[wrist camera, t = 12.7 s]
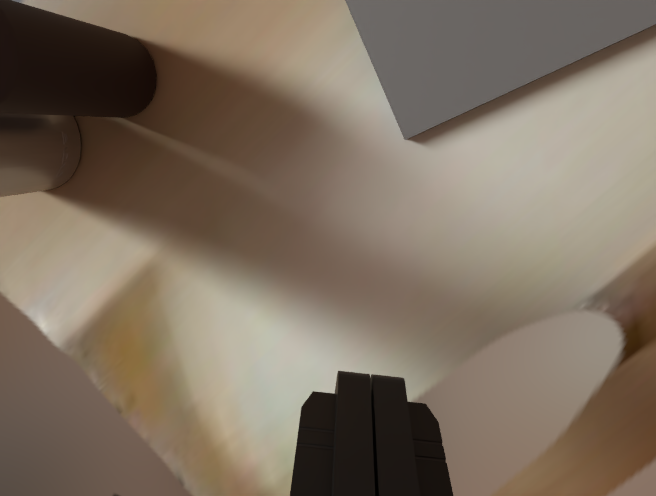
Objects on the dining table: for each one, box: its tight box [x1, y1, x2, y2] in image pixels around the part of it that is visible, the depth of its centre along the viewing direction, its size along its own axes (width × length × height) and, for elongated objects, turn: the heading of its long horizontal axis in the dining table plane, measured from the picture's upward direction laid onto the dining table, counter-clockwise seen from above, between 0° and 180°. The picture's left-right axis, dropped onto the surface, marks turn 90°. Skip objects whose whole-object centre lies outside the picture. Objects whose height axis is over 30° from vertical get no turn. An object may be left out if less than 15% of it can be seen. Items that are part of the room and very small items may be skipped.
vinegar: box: [0, 0, 156, 117], centre depth 34 cm, size 7×7×20 cm
